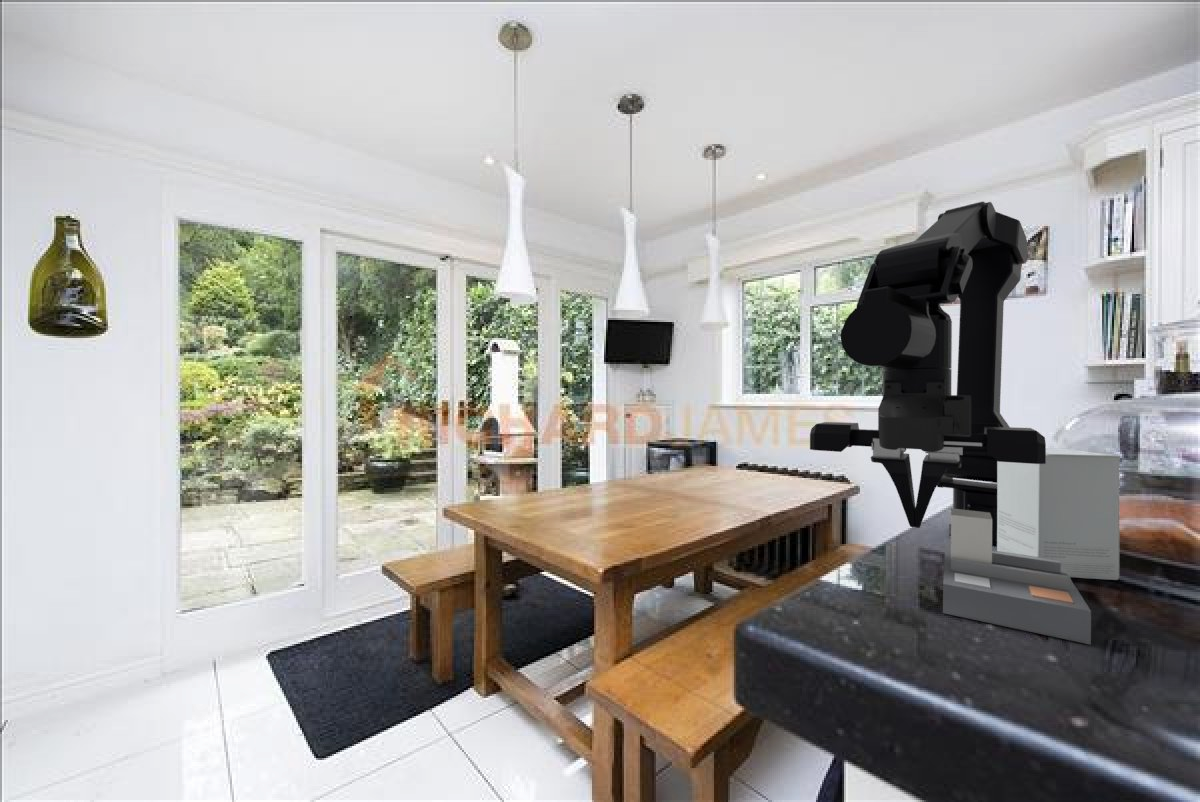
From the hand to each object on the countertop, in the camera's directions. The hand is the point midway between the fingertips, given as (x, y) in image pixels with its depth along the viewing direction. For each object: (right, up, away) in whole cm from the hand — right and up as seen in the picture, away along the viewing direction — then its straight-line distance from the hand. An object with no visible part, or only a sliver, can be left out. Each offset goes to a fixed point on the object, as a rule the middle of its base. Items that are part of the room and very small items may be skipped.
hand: (915, 526), depth 49 cm
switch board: (+6, -6, -4) cm, 9 cm away
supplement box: (+18, -6, +4) cm, 19 cm away
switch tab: (+4, -3, -3) cm, 5 cm away
